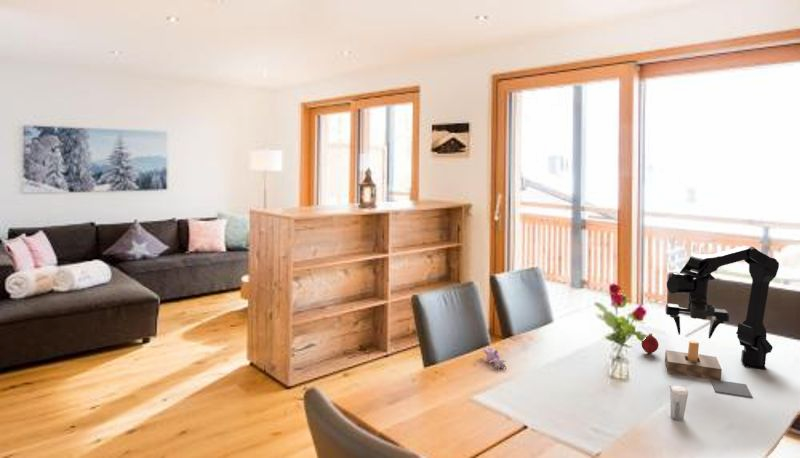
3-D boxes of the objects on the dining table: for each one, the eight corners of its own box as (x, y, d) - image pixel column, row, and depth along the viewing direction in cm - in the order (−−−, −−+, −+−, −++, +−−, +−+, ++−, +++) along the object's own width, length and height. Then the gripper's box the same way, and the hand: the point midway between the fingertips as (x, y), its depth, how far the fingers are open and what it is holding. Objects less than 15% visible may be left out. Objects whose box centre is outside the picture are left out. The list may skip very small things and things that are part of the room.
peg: (695, 369, 187) (698, 341, 185) (696, 372, 184) (699, 344, 182) (686, 367, 188) (688, 340, 186) (687, 371, 185) (689, 343, 184)
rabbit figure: (510, 373, 185) (493, 351, 199) (512, 358, 183) (495, 337, 197) (493, 375, 184) (477, 353, 197) (495, 360, 182) (479, 338, 196)
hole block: (715, 367, 188) (716, 356, 188) (720, 380, 177) (721, 369, 177) (664, 360, 194) (665, 350, 194) (667, 372, 183) (668, 361, 183)
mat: (745, 385, 174) (745, 384, 174) (752, 398, 164) (752, 396, 164) (710, 380, 177) (710, 379, 177) (715, 392, 168) (715, 391, 168)
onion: (659, 357, 197) (661, 336, 196) (642, 356, 199) (644, 335, 198) (655, 351, 203) (656, 331, 202) (639, 350, 204) (640, 330, 203)
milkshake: (662, 414, 153) (664, 381, 152) (679, 413, 154) (682, 380, 153) (671, 422, 149) (674, 388, 148) (689, 421, 149) (692, 387, 148)
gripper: (669, 294, 178) (665, 339, 180) (734, 301, 171) (729, 347, 173) (667, 287, 188) (663, 330, 191) (728, 293, 181) (723, 337, 183)
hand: (694, 336), depth 184 cm, fingers open, 9 cm apart
